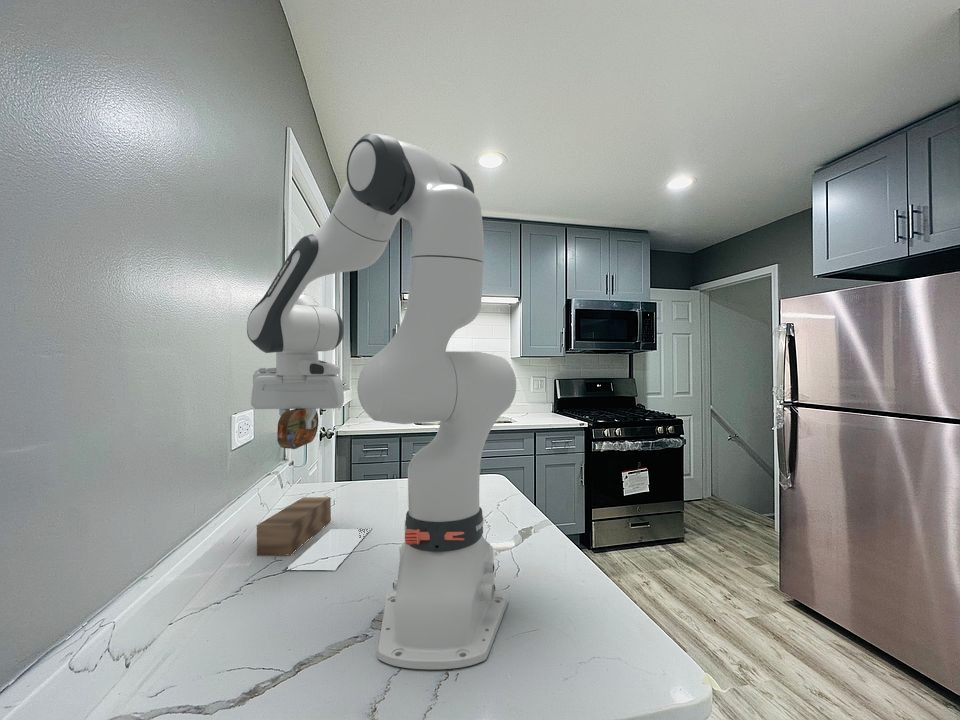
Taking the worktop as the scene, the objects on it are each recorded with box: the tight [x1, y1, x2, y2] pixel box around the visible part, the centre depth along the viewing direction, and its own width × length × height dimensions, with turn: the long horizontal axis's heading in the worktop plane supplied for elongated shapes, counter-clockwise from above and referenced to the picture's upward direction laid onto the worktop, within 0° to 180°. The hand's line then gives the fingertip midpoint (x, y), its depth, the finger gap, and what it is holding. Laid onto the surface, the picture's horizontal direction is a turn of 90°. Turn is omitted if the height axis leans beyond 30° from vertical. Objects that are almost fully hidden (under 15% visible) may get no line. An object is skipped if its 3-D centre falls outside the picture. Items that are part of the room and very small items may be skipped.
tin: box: [276, 409, 319, 450], centre depth 99 cm, size 15×3×8 cm, turn 176°
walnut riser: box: [256, 496, 332, 556], centre depth 98 cm, size 20×7×6 cm, turn 176°
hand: (298, 428), depth 98 cm, fingers closed on tin, 2 cm apart
